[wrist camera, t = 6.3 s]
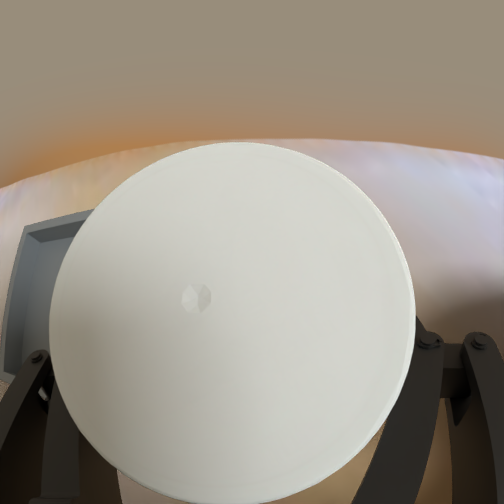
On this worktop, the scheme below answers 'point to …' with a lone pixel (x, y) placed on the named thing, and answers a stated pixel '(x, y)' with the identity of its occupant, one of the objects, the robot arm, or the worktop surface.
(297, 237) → the supplement tub
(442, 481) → the worktop surface
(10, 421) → the robot arm
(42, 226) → the tray
